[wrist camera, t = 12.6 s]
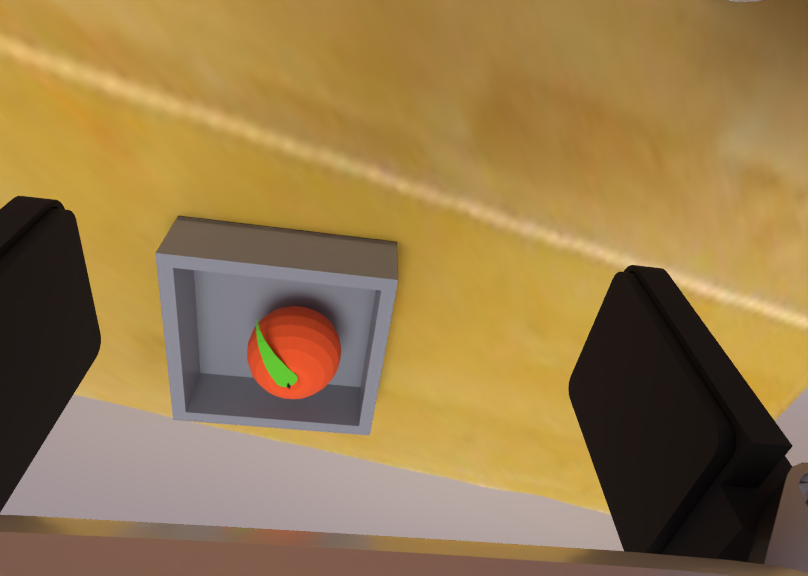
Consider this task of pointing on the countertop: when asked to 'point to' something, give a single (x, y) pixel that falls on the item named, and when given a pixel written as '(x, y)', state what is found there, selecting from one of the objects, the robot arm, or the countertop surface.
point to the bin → (257, 297)
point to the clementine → (293, 352)
